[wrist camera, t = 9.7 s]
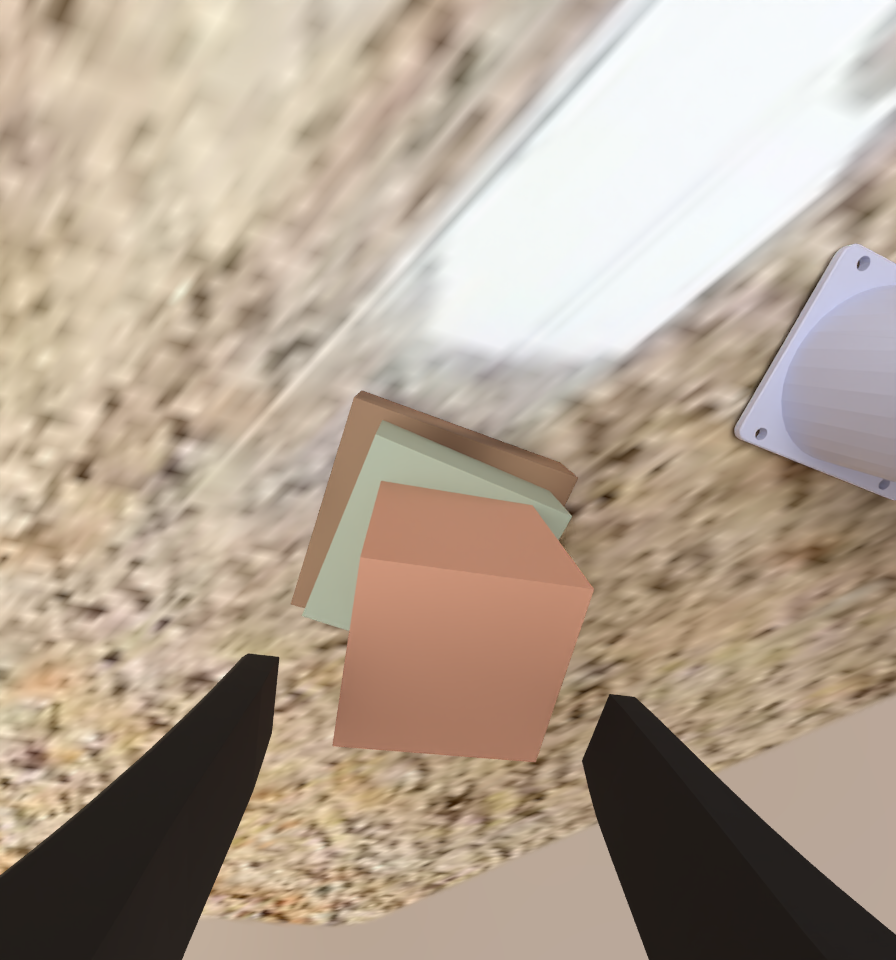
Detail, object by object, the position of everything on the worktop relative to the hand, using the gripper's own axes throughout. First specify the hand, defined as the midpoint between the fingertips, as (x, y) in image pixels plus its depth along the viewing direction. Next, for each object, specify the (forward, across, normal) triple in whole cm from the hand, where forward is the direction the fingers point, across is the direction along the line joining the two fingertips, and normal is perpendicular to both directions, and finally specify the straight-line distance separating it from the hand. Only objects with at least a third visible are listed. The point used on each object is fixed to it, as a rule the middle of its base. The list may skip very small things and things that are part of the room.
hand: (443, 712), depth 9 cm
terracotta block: (+6, 0, 0) cm, 6 cm away
